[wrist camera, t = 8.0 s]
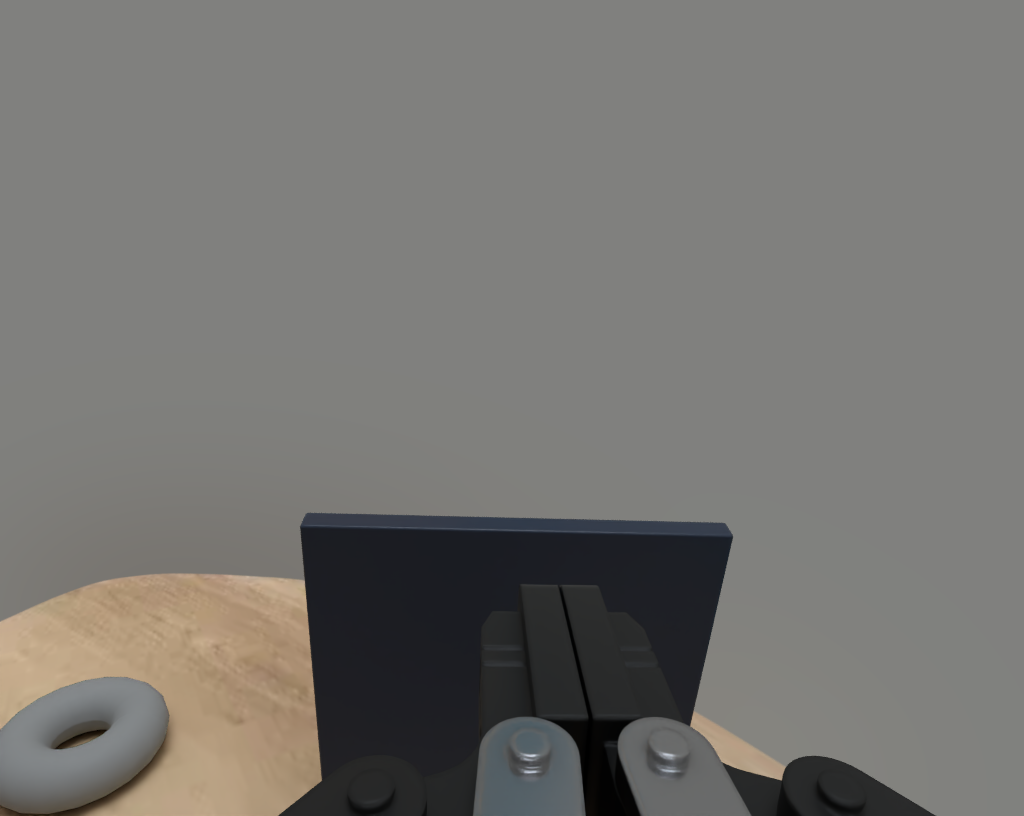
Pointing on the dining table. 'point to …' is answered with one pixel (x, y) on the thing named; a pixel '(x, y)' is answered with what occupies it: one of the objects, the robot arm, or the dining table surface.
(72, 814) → the dining table surface
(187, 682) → the dining table surface
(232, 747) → the dining table surface
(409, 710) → the lid
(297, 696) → the dining table surface
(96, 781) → the donut
